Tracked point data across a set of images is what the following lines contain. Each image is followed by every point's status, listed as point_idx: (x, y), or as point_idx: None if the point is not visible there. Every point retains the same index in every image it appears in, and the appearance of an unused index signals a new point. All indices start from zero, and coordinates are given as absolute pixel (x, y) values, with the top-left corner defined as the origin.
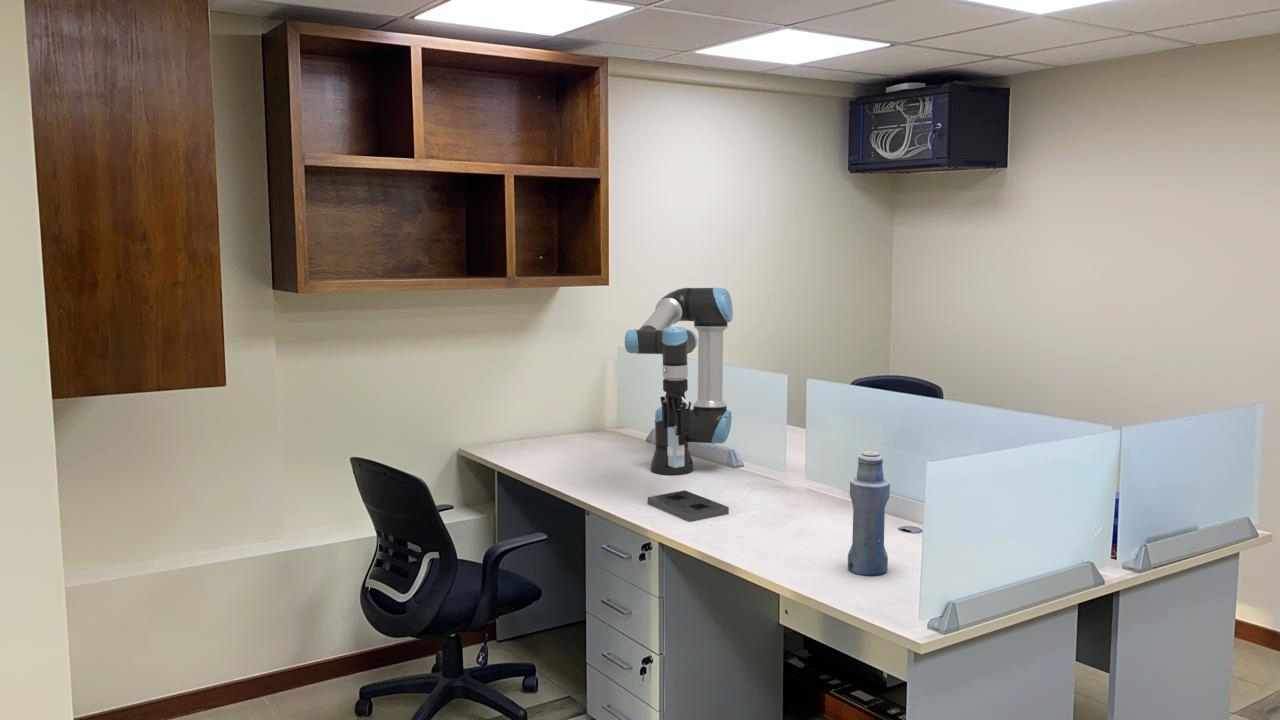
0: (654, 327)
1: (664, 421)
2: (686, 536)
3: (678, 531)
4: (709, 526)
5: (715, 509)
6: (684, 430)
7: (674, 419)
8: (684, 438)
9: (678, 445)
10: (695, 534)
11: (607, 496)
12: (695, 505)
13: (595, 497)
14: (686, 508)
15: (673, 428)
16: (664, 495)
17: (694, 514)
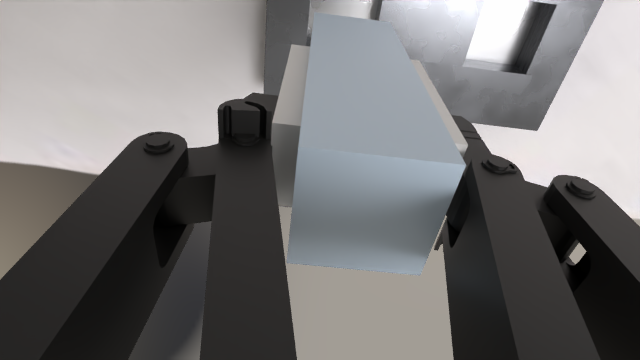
0: None
1: (167, 279)
2: None
3: (528, 175)
4: (591, 81)
5: (595, 14)
6: (570, 252)
7: (283, 254)
8: (485, 149)
9: None
10: (588, 161)
11: (77, 105)
12: (475, 22)
13: (74, 139)
14: (482, 91)
15: (385, 260)
16: (285, 32)
17: (544, 112)
